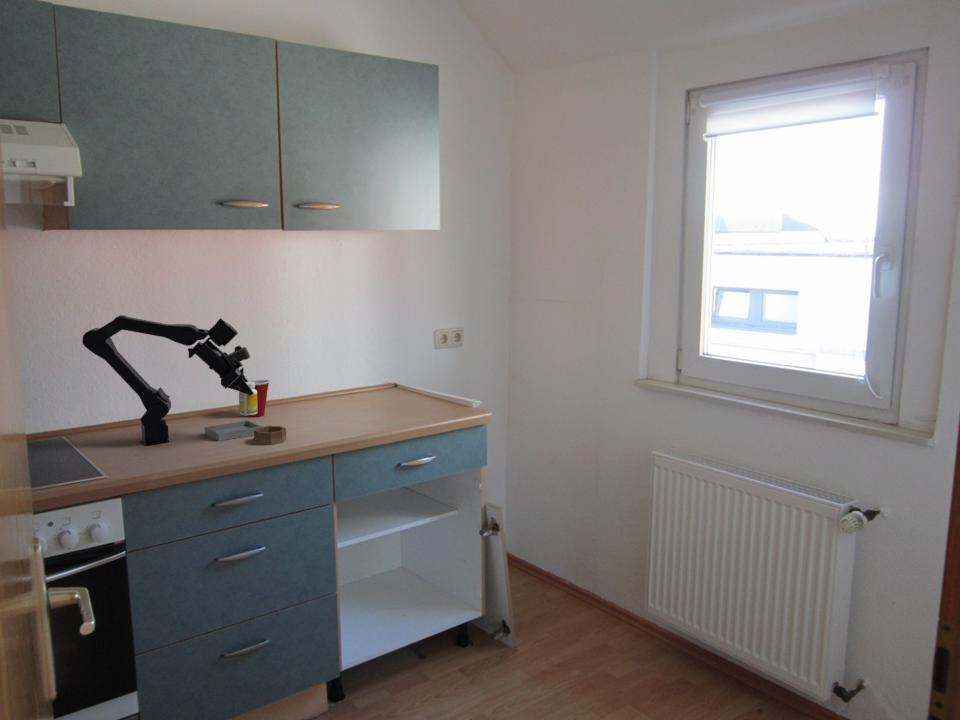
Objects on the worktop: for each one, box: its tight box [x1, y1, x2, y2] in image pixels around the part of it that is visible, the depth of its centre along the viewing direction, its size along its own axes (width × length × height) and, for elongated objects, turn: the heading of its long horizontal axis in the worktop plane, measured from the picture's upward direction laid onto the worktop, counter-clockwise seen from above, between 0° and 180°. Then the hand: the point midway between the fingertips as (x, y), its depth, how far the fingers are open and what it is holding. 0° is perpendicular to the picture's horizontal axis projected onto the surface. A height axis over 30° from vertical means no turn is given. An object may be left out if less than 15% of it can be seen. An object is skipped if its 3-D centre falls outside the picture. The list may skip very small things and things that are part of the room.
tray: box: [204, 419, 264, 442], centre depth 238 cm, size 14×11×2 cm
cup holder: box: [253, 425, 287, 446], centre depth 230 cm, size 9×9×4 cm
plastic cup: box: [246, 379, 270, 418], centre depth 262 cm, size 11×11×12 cm
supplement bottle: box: [238, 382, 257, 416], centre depth 234 cm, size 5×5×10 cm
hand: (252, 392), depth 234 cm, fingers closed on supplement bottle, 5 cm apart
